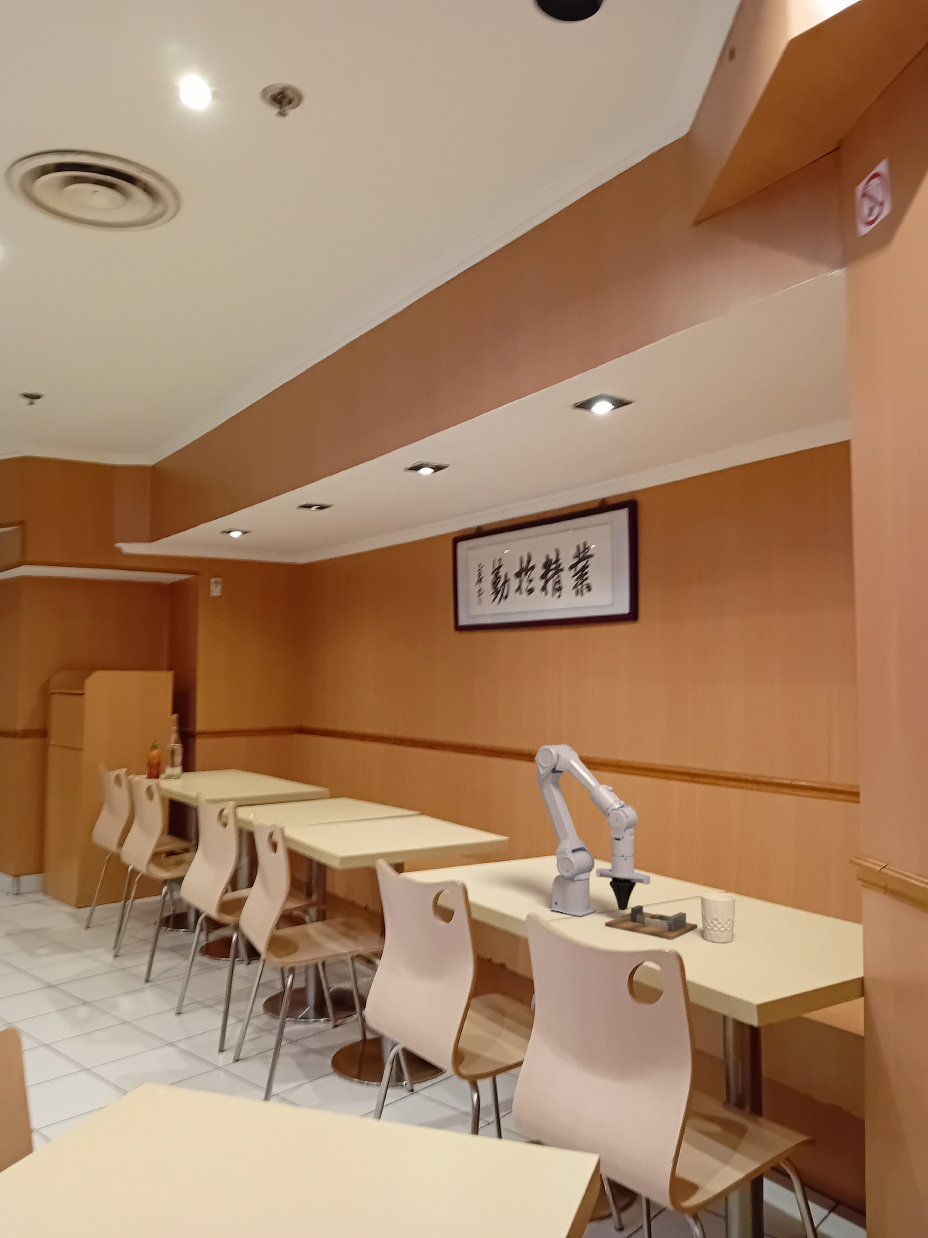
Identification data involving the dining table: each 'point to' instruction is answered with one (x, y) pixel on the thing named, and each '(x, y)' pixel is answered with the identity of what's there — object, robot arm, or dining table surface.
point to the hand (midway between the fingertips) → (622, 909)
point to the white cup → (718, 917)
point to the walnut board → (647, 928)
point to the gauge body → (667, 922)
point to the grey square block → (641, 915)
